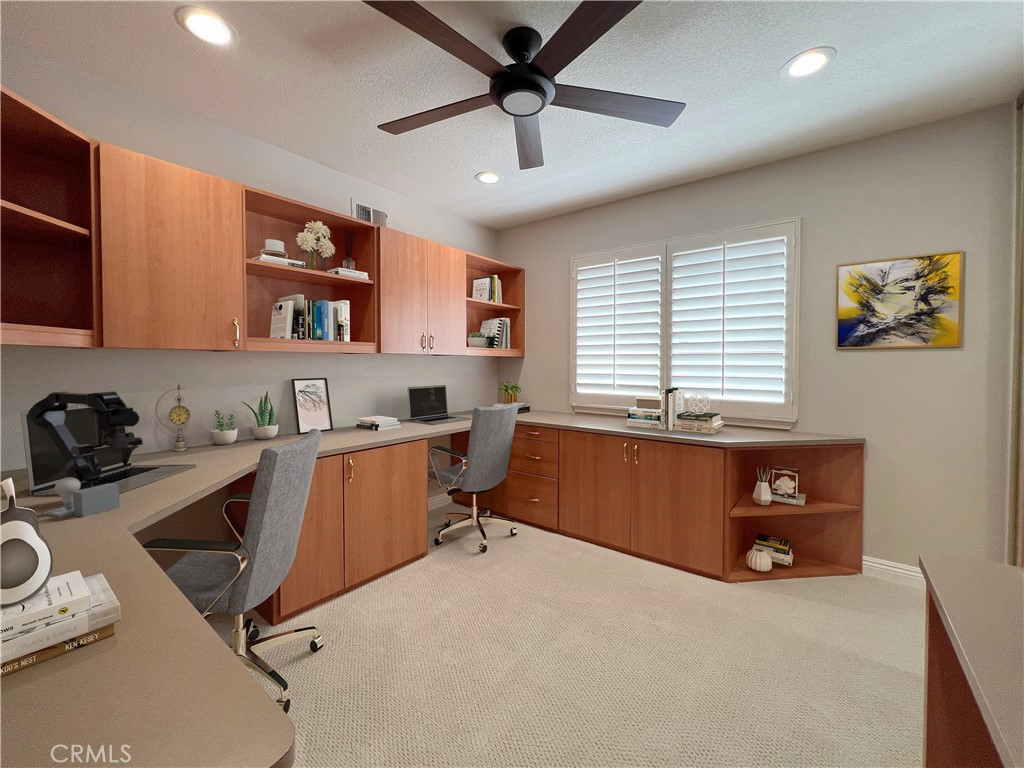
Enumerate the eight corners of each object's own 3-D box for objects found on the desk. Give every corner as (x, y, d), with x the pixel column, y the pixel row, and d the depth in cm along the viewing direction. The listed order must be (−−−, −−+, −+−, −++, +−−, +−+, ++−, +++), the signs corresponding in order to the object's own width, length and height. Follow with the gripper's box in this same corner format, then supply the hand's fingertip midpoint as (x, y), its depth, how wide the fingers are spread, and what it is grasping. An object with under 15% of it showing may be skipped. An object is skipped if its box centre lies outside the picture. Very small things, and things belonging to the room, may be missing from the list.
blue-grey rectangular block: (73, 515, 142) (71, 491, 142) (110, 505, 152) (108, 483, 151) (83, 516, 141) (81, 493, 140) (119, 506, 150) (118, 484, 149)
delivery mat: (46, 514, 144) (46, 511, 144) (80, 505, 152) (80, 503, 152) (61, 517, 140) (61, 514, 140) (96, 508, 149) (95, 505, 149)
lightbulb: (65, 513, 142) (62, 480, 142) (51, 511, 144) (49, 479, 143) (87, 506, 148) (84, 475, 147) (74, 505, 150) (71, 474, 149)
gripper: (87, 431, 143) (90, 477, 144) (150, 423, 160) (153, 464, 161) (68, 430, 147) (71, 474, 148) (132, 422, 164) (134, 462, 165)
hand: (110, 468), depth 155 cm, fingers open, 9 cm apart
